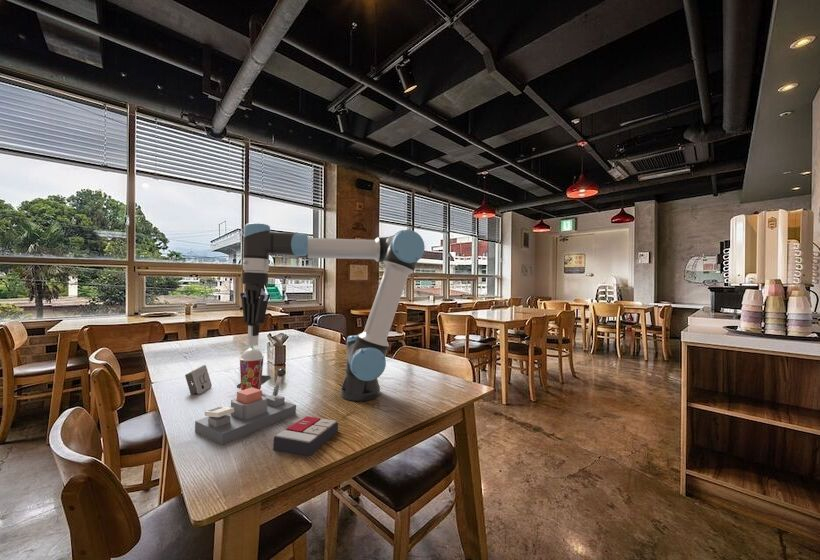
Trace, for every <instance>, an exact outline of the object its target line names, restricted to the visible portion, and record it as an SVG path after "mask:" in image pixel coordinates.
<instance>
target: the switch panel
mask: <svg viewBox="0 0 820 560" xmlns="http://www.w3.org/2000/svg"><path fill="white" fill-rule="evenodd" d="M285 398H286V397H285V396H283V395H280V394H278V395H277V396H273V394H271V395H268V396H263V395H262V399H261V400H258V401H255V402H252V403H249V404H244V403H241V402H238V401H237V397H236V398H233V399H231V400H230V407H231V408H234V412H233V413H230V414H227V415H224V416H221V417H210V416H205V417H203V418H200V419H197V420H195V421H194V432H196V433H197V434H200V435H202V436H203V437H204V438H207V439H210V440H212V441H214V442H216V443H217V444H220V445H221V446H223V445H225V444H228V443H231V442H234V440H235V441H236V440H238V439H240V438H243V437H245V436H247V435H250V434H252V433H254V432H256V431H259V430H261V429H264V428H266V427H268V426H271V425H273V424H275V423H276V424H277V423H278V422H280V421H283V420H285V419H288V418H290V417H292V416H294V415H295V416H296V414H297V405H296V404H294V403H291V402H287V401H285Z"/></svg>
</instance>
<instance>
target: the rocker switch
mask: <svg viewBox="0 0 820 560" xmlns="http://www.w3.org/2000/svg"><path fill="white" fill-rule="evenodd" d="M233 412H234V408H231V406H230V407H229V406H218V407H215V408H211V409H208V410H205V411H204V416H205V417H208V416H210V417H221V416H224V415H227V414H230V413H233Z"/></svg>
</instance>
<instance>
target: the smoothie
mask: <svg viewBox="0 0 820 560" xmlns="http://www.w3.org/2000/svg"><path fill="white" fill-rule="evenodd" d="M263 366H264V355H263V353H262V351H261V350H260V349H258V348H255V347H254V346H250V348H247V349H246V350H244V351H243V352H242V354H241V355H240V357H239V369H240V370H239V371H240V373H239V374H240V383H241V388H240V391H241V390H245V389H248V388H251V387H253V388H256V389H259V390H262V389H261V388H262V384H261V380H262V375H263Z"/></svg>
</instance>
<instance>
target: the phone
mask: <svg viewBox="0 0 820 560" xmlns="http://www.w3.org/2000/svg"><path fill="white" fill-rule="evenodd" d="M269 379H271V375H265V374H264V375H263V374H262V380H261V385H262V384H263V383H266V382H267V381H268V380H269ZM236 388H237V389H241V382H240V383H238V384H236Z"/></svg>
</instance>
